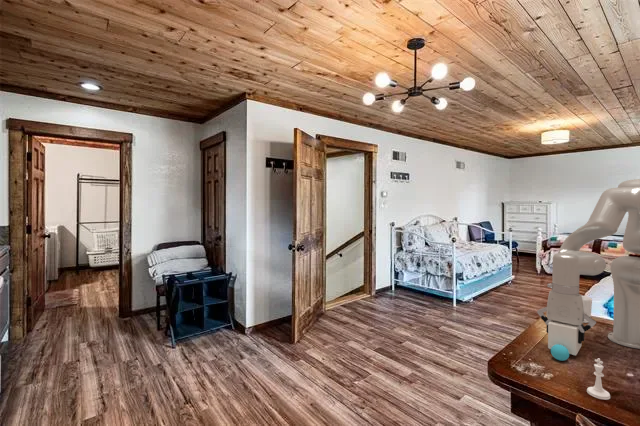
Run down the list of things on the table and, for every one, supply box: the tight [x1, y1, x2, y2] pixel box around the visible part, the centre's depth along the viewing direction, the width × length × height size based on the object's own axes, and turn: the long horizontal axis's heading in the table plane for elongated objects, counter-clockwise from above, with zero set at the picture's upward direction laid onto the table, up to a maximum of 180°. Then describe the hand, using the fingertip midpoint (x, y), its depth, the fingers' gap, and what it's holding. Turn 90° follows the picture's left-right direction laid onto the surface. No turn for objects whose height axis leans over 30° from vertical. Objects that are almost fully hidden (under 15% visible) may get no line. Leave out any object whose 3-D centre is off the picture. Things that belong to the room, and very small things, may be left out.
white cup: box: [581, 295, 593, 324], centre depth 144 cm, size 8×8×10 cm
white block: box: [547, 321, 583, 356], centre depth 115 cm, size 10×8×9 cm
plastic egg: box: [550, 344, 570, 361], centre depth 109 cm, size 5×5×5 cm
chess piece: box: [586, 358, 611, 401], centre depth 90 cm, size 5×5×10 cm
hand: (564, 338), depth 115 cm, fingers closed on white block, 7 cm apart
